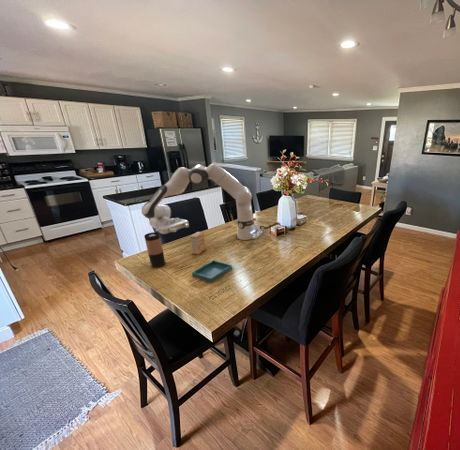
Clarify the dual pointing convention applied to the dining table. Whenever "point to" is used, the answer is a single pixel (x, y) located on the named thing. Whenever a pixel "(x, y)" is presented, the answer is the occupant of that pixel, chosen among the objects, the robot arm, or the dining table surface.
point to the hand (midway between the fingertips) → (182, 228)
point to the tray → (212, 271)
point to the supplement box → (197, 242)
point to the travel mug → (155, 249)
